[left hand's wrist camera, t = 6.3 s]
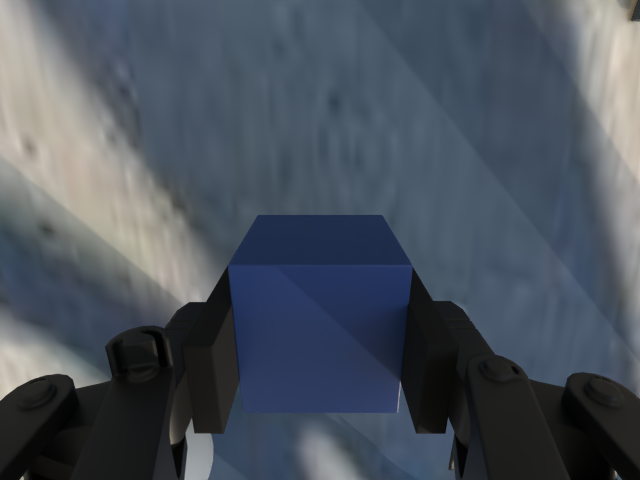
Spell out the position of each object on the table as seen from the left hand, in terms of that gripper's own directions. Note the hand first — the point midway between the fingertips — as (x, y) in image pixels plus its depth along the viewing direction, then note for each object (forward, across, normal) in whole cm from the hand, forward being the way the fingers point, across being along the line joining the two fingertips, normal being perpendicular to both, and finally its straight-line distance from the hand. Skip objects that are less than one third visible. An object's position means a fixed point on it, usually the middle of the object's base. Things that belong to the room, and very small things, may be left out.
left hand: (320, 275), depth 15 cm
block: (0, 0, 0) cm, 0 cm away
